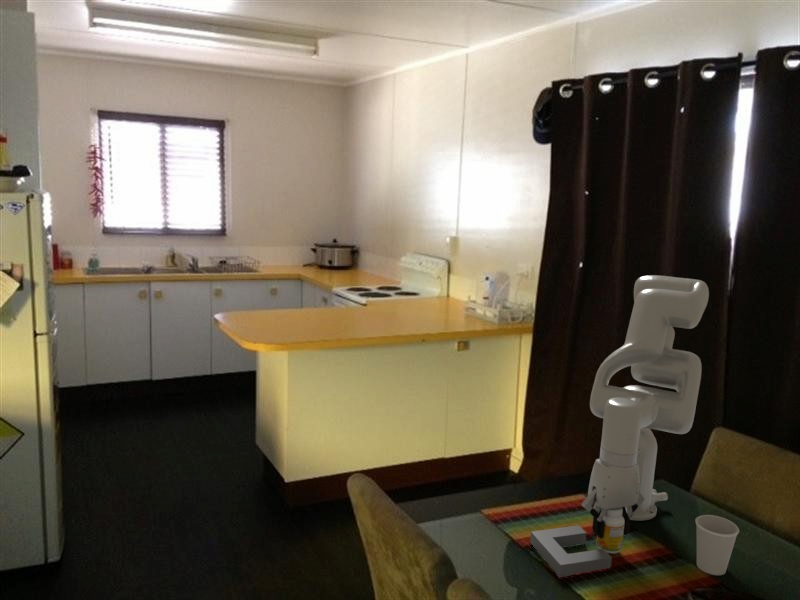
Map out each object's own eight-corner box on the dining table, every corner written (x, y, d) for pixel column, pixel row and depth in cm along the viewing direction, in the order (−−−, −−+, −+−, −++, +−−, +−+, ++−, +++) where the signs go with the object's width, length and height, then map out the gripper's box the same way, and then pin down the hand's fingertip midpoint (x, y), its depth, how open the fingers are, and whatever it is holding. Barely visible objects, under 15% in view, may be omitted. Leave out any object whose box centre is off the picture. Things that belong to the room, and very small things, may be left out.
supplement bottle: (592, 540, 148) (596, 500, 147) (615, 540, 149) (619, 500, 147) (601, 554, 143) (606, 513, 141) (625, 554, 144) (630, 512, 142)
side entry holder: (577, 537, 151) (578, 525, 151) (610, 570, 139) (611, 557, 139) (530, 543, 148) (531, 531, 148) (559, 578, 136) (560, 565, 135)
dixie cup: (711, 553, 147) (717, 512, 145) (742, 575, 139) (748, 532, 137) (681, 559, 144) (686, 517, 142) (710, 582, 136) (716, 537, 135)
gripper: (641, 445, 148) (632, 520, 151) (573, 452, 143) (566, 529, 146) (663, 459, 141) (654, 537, 144) (593, 467, 136) (585, 547, 139)
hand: (610, 532), depth 145 cm, fingers closed on supplement bottle, 5 cm apart
